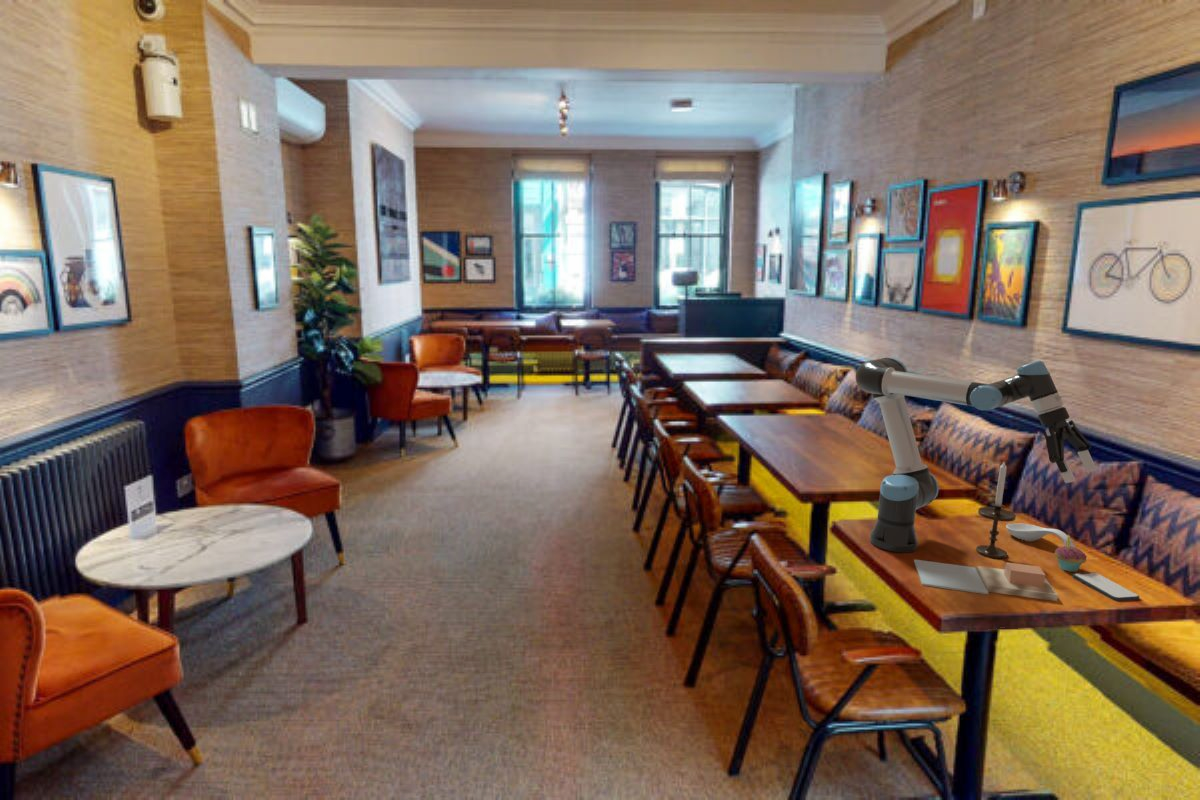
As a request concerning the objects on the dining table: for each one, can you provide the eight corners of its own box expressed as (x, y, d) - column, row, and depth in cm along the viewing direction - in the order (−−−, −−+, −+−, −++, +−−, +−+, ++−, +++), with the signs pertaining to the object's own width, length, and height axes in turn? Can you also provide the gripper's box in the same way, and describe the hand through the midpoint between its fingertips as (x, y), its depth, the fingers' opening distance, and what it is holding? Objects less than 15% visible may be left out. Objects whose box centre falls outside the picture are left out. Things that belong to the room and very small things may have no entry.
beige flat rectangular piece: (987, 591, 203) (988, 585, 202) (976, 571, 216) (977, 565, 215) (1056, 601, 197) (1057, 594, 197) (1041, 580, 211) (1042, 574, 210)
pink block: (1009, 582, 204) (1011, 570, 203) (1004, 574, 210) (1005, 562, 209) (1043, 587, 201) (1045, 574, 201) (1037, 578, 207) (1039, 566, 206)
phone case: (1141, 601, 200) (1094, 576, 215) (1142, 596, 199) (1095, 571, 215) (1114, 603, 198) (1069, 577, 214) (1115, 598, 198) (1070, 573, 213)
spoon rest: (997, 533, 248) (999, 515, 247) (1021, 530, 252) (1023, 511, 251) (1059, 560, 226) (1063, 540, 225) (1084, 555, 230) (1088, 535, 229)
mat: (922, 585, 206) (922, 583, 206) (913, 561, 223) (914, 559, 223) (988, 594, 201) (988, 592, 201) (974, 569, 218) (974, 567, 217)
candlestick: (1000, 547, 235) (1014, 449, 228) (1016, 560, 224) (1031, 458, 218) (967, 545, 236) (980, 447, 229) (981, 558, 225) (995, 456, 219)
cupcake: (1069, 575, 214) (1075, 539, 212) (1045, 564, 222) (1051, 529, 220) (1090, 572, 217) (1097, 537, 214) (1066, 561, 225) (1072, 527, 222)
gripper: (1042, 414, 198) (1074, 484, 194) (1082, 399, 211) (1113, 464, 207) (1017, 421, 205) (1048, 489, 201) (1058, 406, 218) (1087, 470, 214)
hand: (1081, 476), depth 204 cm, fingers open, 13 cm apart
